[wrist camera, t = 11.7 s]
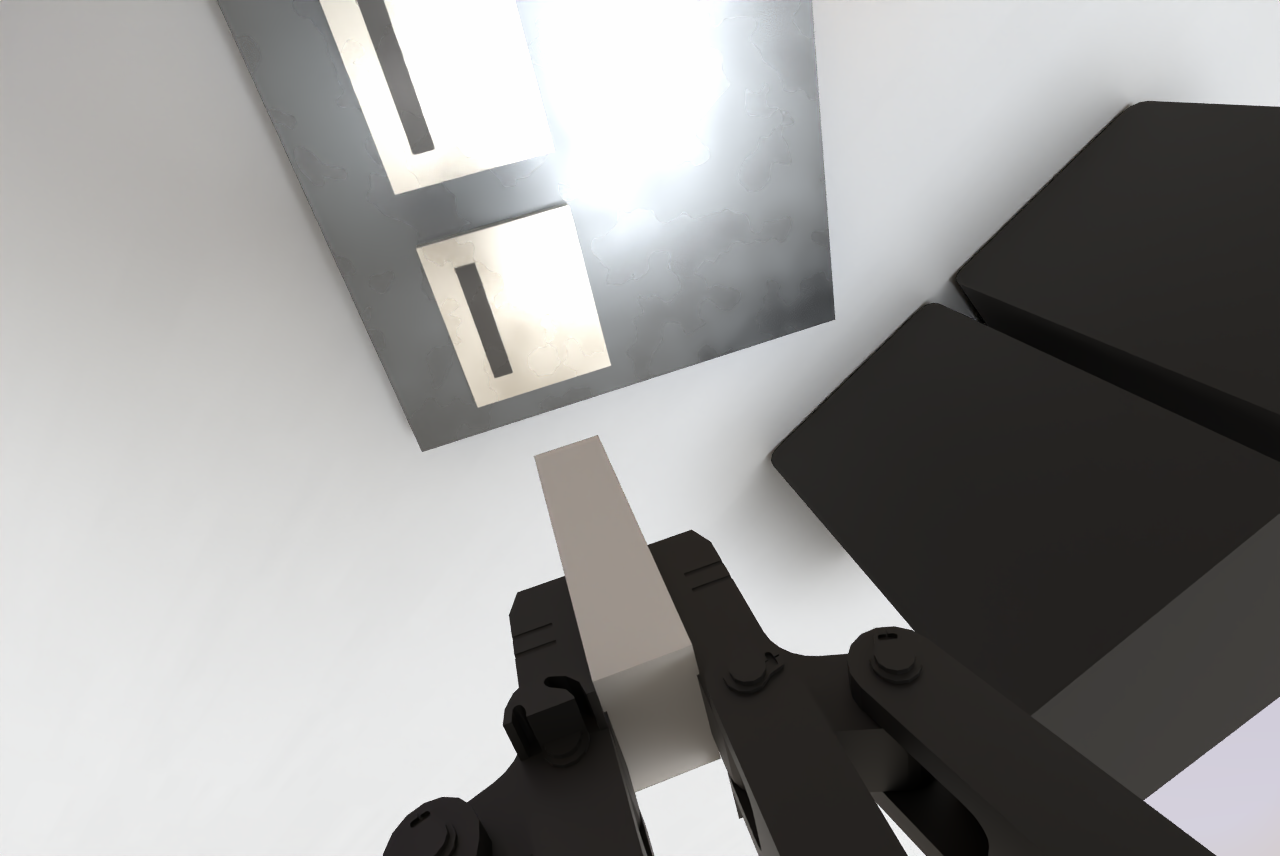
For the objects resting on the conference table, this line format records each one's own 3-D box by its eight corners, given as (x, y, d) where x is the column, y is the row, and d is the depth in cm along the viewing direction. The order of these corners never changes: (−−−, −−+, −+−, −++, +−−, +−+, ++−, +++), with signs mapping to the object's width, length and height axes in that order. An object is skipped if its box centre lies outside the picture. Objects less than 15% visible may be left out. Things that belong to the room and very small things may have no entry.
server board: (112, -265, 20) (69, -310, 17) (753, -382, 22) (791, -436, 20) (422, 431, 32) (421, 460, 29) (815, 306, 34) (843, 324, 32)
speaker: (865, 545, 43) (1117, 824, 27) (764, 455, 38) (1004, 736, 22) (1191, 247, 39) (1713, 371, 23) (1129, 100, 34) (1752, 128, 18)
